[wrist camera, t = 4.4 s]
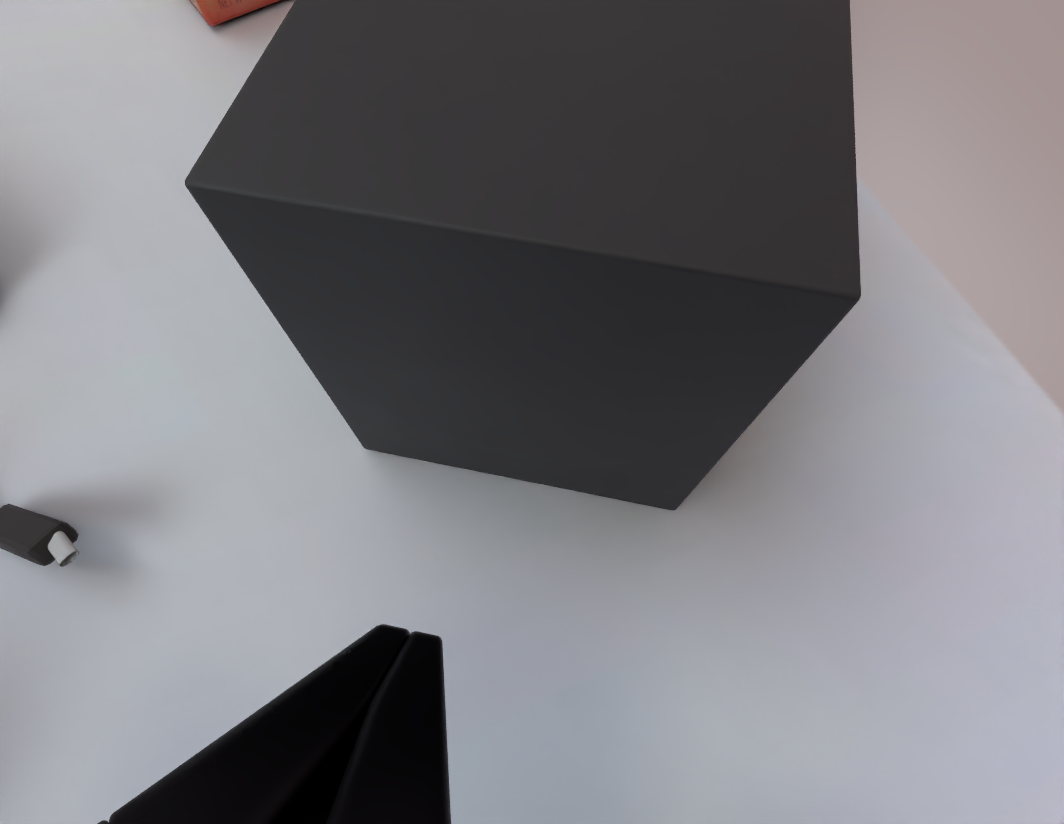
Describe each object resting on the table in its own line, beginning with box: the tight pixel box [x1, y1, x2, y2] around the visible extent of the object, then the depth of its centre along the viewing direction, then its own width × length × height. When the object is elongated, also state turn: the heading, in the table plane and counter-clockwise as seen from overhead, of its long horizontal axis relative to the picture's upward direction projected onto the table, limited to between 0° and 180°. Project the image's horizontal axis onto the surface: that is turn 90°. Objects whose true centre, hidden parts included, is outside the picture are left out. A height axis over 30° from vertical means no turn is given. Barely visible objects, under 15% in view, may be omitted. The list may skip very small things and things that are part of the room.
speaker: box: [185, 0, 861, 510], centre depth 17 cm, size 16×10×11 cm, turn 169°
